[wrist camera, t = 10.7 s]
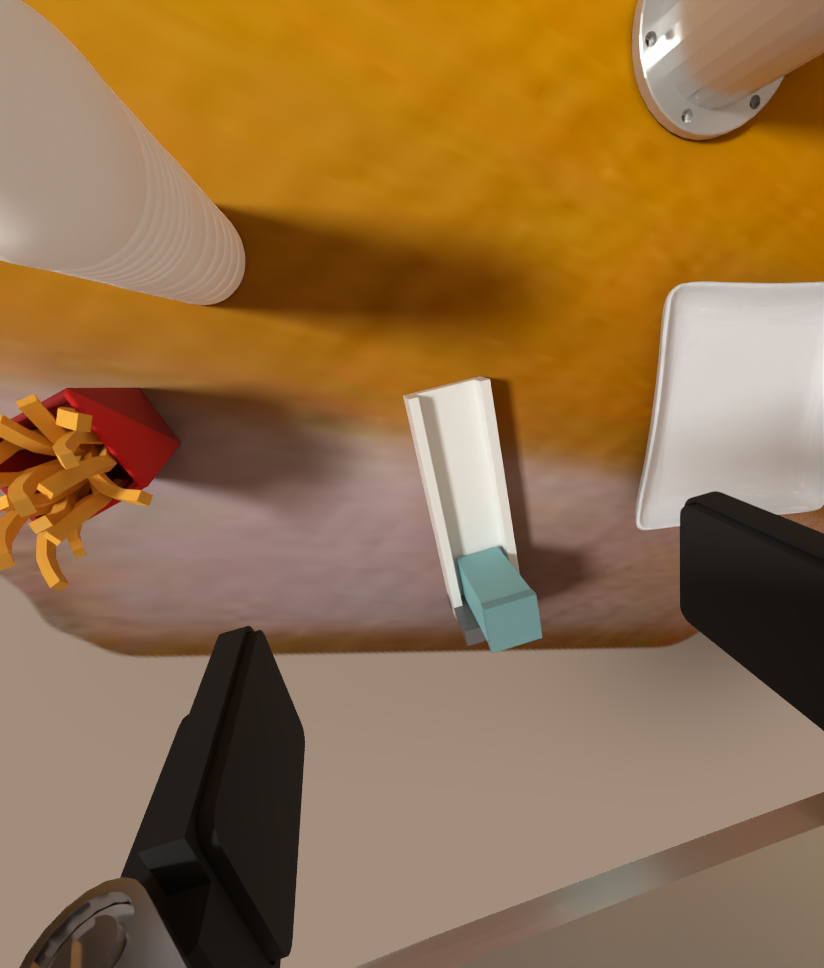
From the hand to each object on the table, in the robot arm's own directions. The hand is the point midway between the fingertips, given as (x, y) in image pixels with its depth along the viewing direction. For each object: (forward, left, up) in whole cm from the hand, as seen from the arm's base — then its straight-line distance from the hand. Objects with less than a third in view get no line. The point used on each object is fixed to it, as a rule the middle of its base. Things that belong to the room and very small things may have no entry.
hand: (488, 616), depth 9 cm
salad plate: (-33, +8, -29) cm, 45 cm away
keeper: (-6, +17, -27) cm, 32 cm away
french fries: (+17, -2, -28) cm, 33 cm away
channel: (-6, +10, -28) cm, 31 cm away
